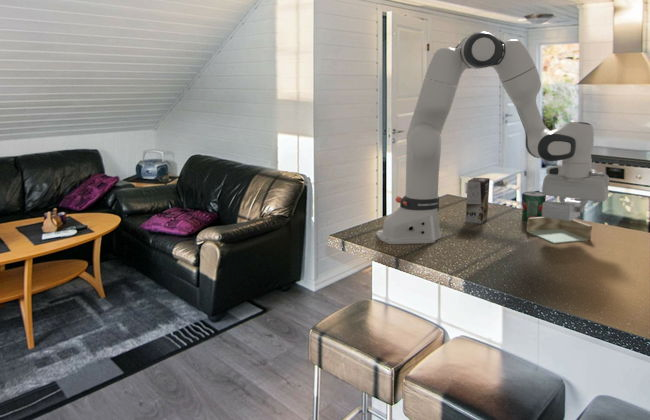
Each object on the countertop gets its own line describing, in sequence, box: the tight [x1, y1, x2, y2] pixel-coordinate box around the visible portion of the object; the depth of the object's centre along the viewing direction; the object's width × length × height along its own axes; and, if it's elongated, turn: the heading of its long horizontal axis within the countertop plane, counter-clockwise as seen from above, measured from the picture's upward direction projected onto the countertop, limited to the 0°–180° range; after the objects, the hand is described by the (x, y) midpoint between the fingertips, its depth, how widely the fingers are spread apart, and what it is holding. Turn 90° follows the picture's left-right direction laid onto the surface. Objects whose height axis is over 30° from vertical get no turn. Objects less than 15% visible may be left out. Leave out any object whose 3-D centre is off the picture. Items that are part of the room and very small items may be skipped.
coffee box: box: [465, 177, 490, 225], centre depth 198 cm, size 9×6×16 cm
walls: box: [526, 217, 593, 241], centre depth 178 cm, size 14×15×5 cm
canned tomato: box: [521, 191, 547, 224], centre depth 195 cm, size 8×8×11 cm
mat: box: [528, 229, 589, 245], centre depth 179 cm, size 14×15×1 cm
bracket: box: [542, 199, 582, 221], centre depth 174 cm, size 9×9×5 cm
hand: (572, 211), depth 174 cm, fingers closed on bracket, 3 cm apart
